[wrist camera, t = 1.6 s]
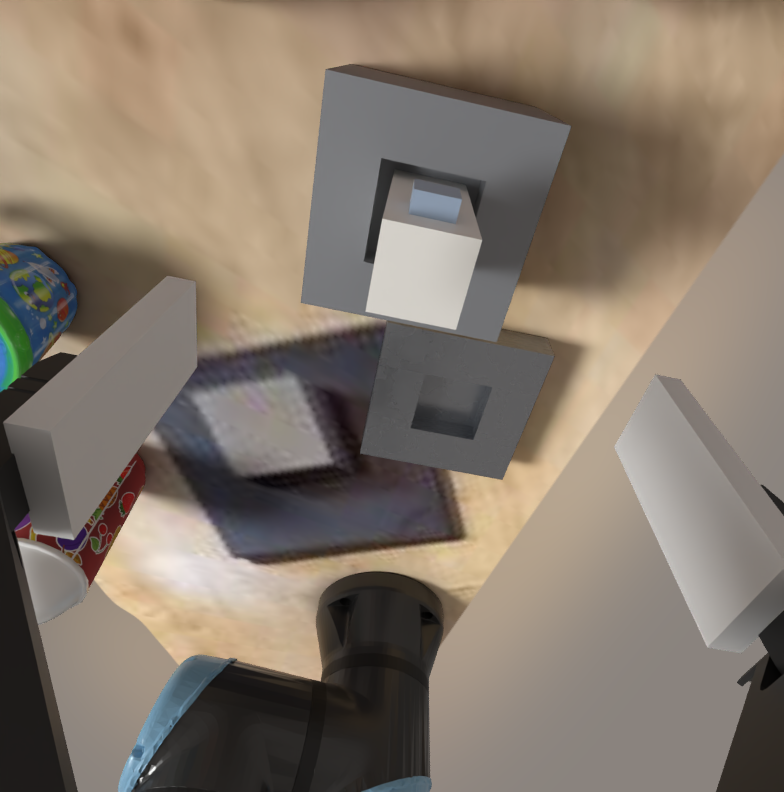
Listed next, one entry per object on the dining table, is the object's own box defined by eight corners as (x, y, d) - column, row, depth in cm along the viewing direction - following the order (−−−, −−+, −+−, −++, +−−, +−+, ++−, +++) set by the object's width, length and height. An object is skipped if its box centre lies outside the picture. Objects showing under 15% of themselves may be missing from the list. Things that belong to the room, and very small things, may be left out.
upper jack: (481, 281, 40) (496, 342, 32) (327, 249, 40) (300, 302, 31) (535, 106, 34) (571, 126, 25) (350, 64, 33) (325, 69, 25)
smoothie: (108, 415, 49) (-53, 602, 33) (176, 471, 53) (62, 665, 36) (58, 454, 52) (-113, 643, 36) (125, 504, 56) (-2, 697, 39)
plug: (447, 254, 31) (456, 330, 23) (381, 240, 31) (365, 311, 23) (470, 165, 28) (489, 214, 20) (398, 149, 28) (386, 192, 20)
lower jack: (498, 458, 50) (502, 479, 47) (363, 432, 49) (360, 453, 46) (547, 338, 43) (554, 356, 40) (389, 306, 42) (387, 322, 39)
